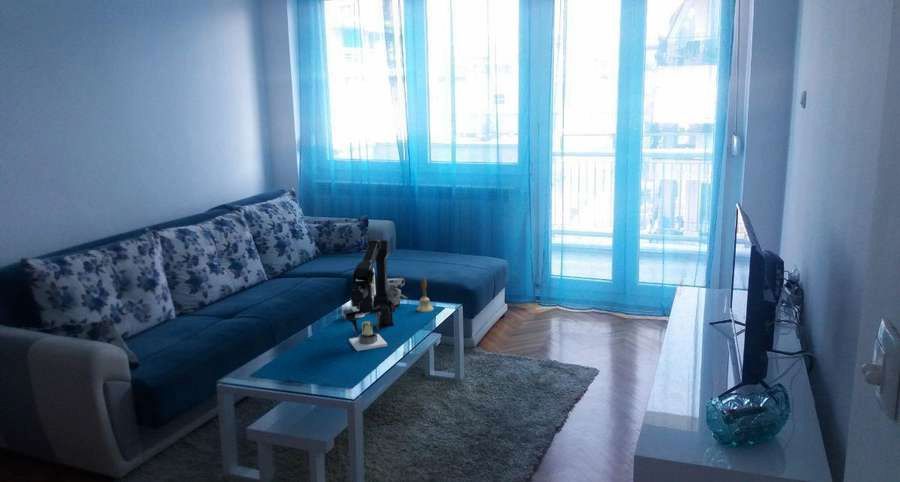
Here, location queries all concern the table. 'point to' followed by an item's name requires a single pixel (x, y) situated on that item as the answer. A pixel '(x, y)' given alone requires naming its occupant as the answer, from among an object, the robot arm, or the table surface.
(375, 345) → the socket base
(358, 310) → the can
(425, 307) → the hand bell
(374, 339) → the socket collar
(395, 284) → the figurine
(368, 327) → the brass cylinder
